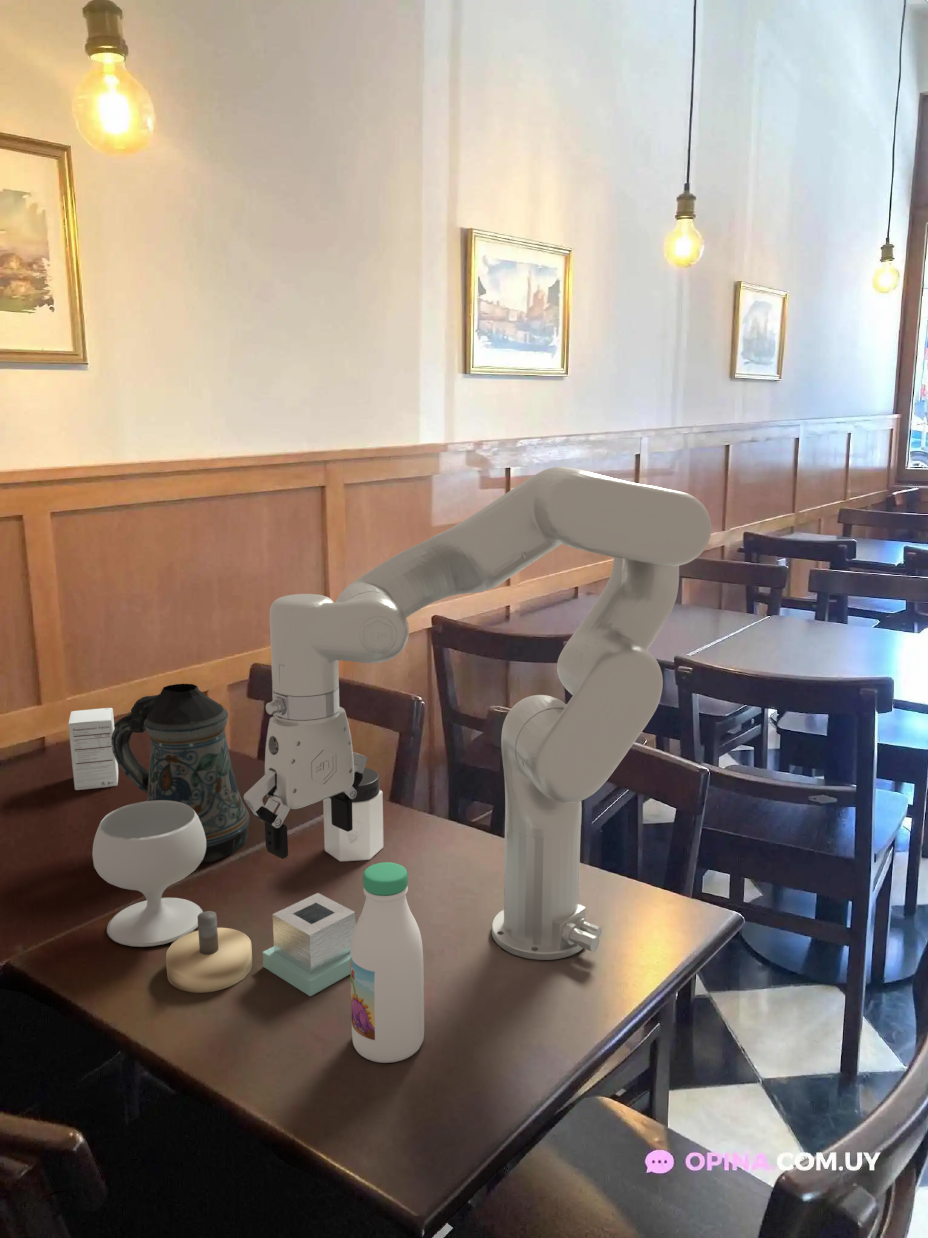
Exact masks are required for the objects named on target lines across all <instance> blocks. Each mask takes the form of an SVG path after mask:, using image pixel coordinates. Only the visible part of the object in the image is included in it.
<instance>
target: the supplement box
mask: <svg viewBox="0 0 928 1238" xmlns="http://www.w3.org/2000/svg"><path fill="white" fill-rule="evenodd" d="M114 717H115V716H114V709H113V708H112V707H105V708H104V707H102V708H92V709H83V710H82V709H80V710H74V711H73V710H72V711H70V715H69V719H68V733H69V745H70V755H71V757H70V758H71V766H72V775H73V784H74V785H73V787H74V790H75V791H80V790H82V791H83V790H91V789H100V788H109V787H117V786H118V783H119V764H118V763H117V761H116V759H115V756H114V754H113V750H112V745H111V738H112V734H113V731H114V729H115V727H114V725H115V719H114Z"/></svg>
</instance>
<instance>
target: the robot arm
mask: <svg viewBox="0 0 928 1238" xmlns="http://www.w3.org/2000/svg"><path fill="white" fill-rule="evenodd" d="M711 535H712V522H711V517H710V514H709V512H708V509H707V508H706V507H705V505H704V504H703V503H702V502H701V501H700V500H699V499H698V498H696V497H695V496H693V495H692V494H690V493H687V492H684V491H680V490H674V489H671V488H663V487H661V486H656V485H650V484H641V483H636V482H632V481H627V480H622V479H618V478H613V477H610V476H607V475H602V474H600V473H597V472H595V473H594V472H591V471H588V470H582V469H577V468H572V467H567V466H553V467H549V468H546V469H543V470H542V471H539V472H537V473H536V474H534V475H532V476H531V477H529V478H528V479H527V480H525V481H523V482H522V483H520V484H519V485H517V486H515V487H514V488H512V489H510V490H509V491H507V492H506V493H504V494H502V495H501V496H500V497H498V498H497V499H496V500H494V501H492V502H490V503H488V505H486V506H484V507H483V508H481V509H480V510H478V511H476V512H475V513H474V514H472V515H470V516H469V517H467V518H465V519H464V520H462V521H460V522H459V523H457V524H456V525H454V526H453V527H450V528H448V529H447V530H446V529H445V530H444V531H442V532H440V533H437V534H435V535H434V536H432V537H429V538H427V539H426V540H424V541H422V542H420V543H418V544H416V545H413V546H411V547H409V548H407V549H405V550H403V551H401V552H399V553H397V554H395V555H393V556H392V557H391V558H390V557H389V559H387V560H385V561H384V562H382V563H380V564H378V565H377V566H376V567H374V568H373V569H371V570H370V571H368V572H366V573H365V574H363V575H362V576H360V577H359V578H357V579H356V580H355V581H353V582H351V583H350V584H349V585H347V586H346V587H345V588H344V590H342V591H341V592H340V593H339V595H338V597H337V598H336V600H335V602H334V601H333V600H332V599H331V598H330V597H329V596H325V595H323V594H316V593H315V594H314V593H295V594H288V595H284V596H281V597H278V598H276V599H275V600H274V601H273V602H272V603H271V605H270V608H269V632H270V633H269V635H270V636H269V637H270V638H269V639H270V656H271V657H270V658H271V659H270V660H271V663H270V664H271V685H272V686H271V688H272V696H271V697H272V700H271V701H270V702H266V705H265V711H266V713H267V714H268V715H272V716H271V717H270V718H269V721H268V727H267V731H266V732H267V734H266V738H265V739H266V741H265V750H264V751H265V752H264V755H265V756H264V775H262V777H261V778H260V779H259V780H257V782H256V783H254V784H253V786H251V788H249V789H248V790H247V791H246V792H245V793H244V795H243V800H244V802H245V803H246V805H247V807H248V809H250V813H251V814H252V815H253V816H255V817H256V818H258V819H259V820H260V821H261V822H263V823H264V835H265V837H264V840H265V848H266V851H267V852H268V853H269V854H271V855H274V856H276V857H278V858H280V859H282V860H283V859H286V858H288V856H289V848H288V847H289V843H288V842H289V841H288V826H287V825H286V824H284V821H285V819H286V817H287V816H288V814H289V812H290V810H291V809H292V810H298V809H302V808H304V807H307V806H310V805H311V806H312V805H313V804H315V803H319V802H321V801H323V800H324V799H327V798H329V797H331V817H332V825H334V826H336V827H338V828H340V829H342V830H345V831H347V832H349V831H351V830H352V829H353V825H352V799H354V798H355V797H356V794H357V791H356V789H357V787H358V786H359V784H360V782H361V781H362V778H363V775H362V772H364V769H365V768H366V766H367V762H368V756H366V755H363V754H360V753H357V752H355V751H353V750H354V749H353V742H352V734H351V730H350V725H349V719H348V716H347V713H346V710H345V708H343V707H341V706H340V681H339V677H340V674H339V661H343V662H352V663H353V662H354V663H360V664H361V663H362V664H379V663H380V664H381V663H384V662H388V661H391V660H392V659H394V658H396V657H397V656H399V654H401V652H403V650H404V649H405V647H406V646H407V644H408V642H409V641H408V640H409V637H410V627H409V622H408V619H407V618H408V617H410V616H411V615H413V614H415V613H416V612H418V611H420V610H421V609H423V608H425V607H427V606H429V605H431V604H432V603H435V602H438V601H440V600H442V599H445V598H448V597H452V596H456V595H465V594H477V593H481V592H484V591H488V590H491V589H494V588H496V587H498V586H500V585H502V584H503V583H505V582H506V581H507V580H509V579H511V577H513V576H515V575H517V574H518V573H520V572H521V571H523V570H524V569H525V568H528V566H530V565H532V564H533V563H535V562H536V561H538V560H539V559H541V558H542V557H544V556H545V555H547V554H549V553H550V552H552V551H554V550H555V549H557V548H558V547H559V546H561V545H565V546H567V547H569V548H573V549H576V550H580V551H584V552H588V553H593V554H597V555H601V556H605V557H606V556H607V557H611V558H613V562H612V563H613V564H612V569H611V573H610V577H609V579H608V580H607V583H606V585H605V587H604V588H603V589H602V591H601V593H600V595H599V596H598V597H597V600H596V601H595V603H594V604H593V605H592V607H591V608H590V609H589V611H588V613H587V614H586V615H585V617H584V618H583V620H582V621H581V623H580V624H579V625H578V626H577V628H576V629H575V631H574V633H572V635H571V636H570V638H568V641H567V643H566V644H565V645H564V646H563V648H562V650H561V651H560V654H559V656H558V659H557V663H556V664H557V665H556V671H557V672H556V673H557V676H558V679H559V681H560V683H561V684H562V686H563V687H564V688H565V689H566V691H568V693H569V694H571V695H572V697H570V700H569V701H568V702H567V703H565V702H564V701H562V700H560V699H559V698H556V697H554V696H550V695H546V694H535V695H530V696H527V697H524V698H522V699H521V700H519V701H518V702H515V703H516V704H514V705H513V706H512V707H511V708H510V710H509V711H508V712H507V715H506V716H505V719H504V721H503V724H502V730H501V738H500V739H501V741H500V743H501V756H502V757H501V758H502V767H503V776H504V777H503V778H504V794H505V795H504V798H505V800H504V801H505V802H504V803H505V807H504V810H505V812H504V814H505V816H504V818H505V819H504V864H503V865H504V867H503V869H504V870H503V871H504V873H503V874H504V875H503V876H504V877H503V878H504V880H503V883H504V885H503V909H502V910H500V911H499V912H498V913H497V914H496V915H495V916H494V918H493V920H492V923H491V935H492V938H493V940H494V941H495V942H496V944H497V945H498V946H499V947H500V948H502V949H503V950H505V951H506V952H508V953H510V954H512V955H515V956H516V957H517V956H518V957H521V958H524V959H531V960H535V961H536V960H538V961H539V960H540V961H551V960H560V959H563V958H564V959H565V958H568V957H570V956H573V955H575V954H577V953H580V951H582V950H583V949H586V950H587V951H589V952H592V953H594V952H596V951H597V950H598V948H599V945H600V937H601V935H602V927H600V926H599V925H596V924H593V923H590V922H588V921H587V919H586V911H587V910H586V906H584V905H582V904H579V901H580V899H579V896H580V867H581V866H580V864H581V863H580V862H581V836H582V835H581V832H582V831H581V830H582V827H581V826H582V802H583V800H586V799H587V798H589V797H591V796H593V795H594V794H595V793H596V792H597V791H599V790H600V789H601V788H602V786H604V784H605V783H606V782H607V781H608V779H609V778H610V777H611V776H612V774H613V773H614V771H615V770H616V769H617V768H618V766H619V765H620V764H621V762H622V760H623V759H624V758H625V756H626V755H627V754H628V752H629V751H630V750H631V748H632V746H633V745H634V743H635V742H636V741H637V740H638V738H639V736H640V735H641V733H642V732H643V730H645V728H646V727H647V725H648V723H649V722H650V720H651V719H652V717H653V716H654V714H655V713H656V711H657V708H658V706H659V703H660V700H661V696H662V693H663V685H664V684H663V683H664V680H663V673H662V670H661V666H660V664H659V663H658V661H657V659H656V657H654V655H653V654H652V653H651V652H650V651H649V649H651V647H652V645H653V643H654V642H655V640H656V638H657V637H658V635H659V634H660V632H661V630H662V629H663V627H664V625H665V624H666V622H667V620H668V619H669V617H670V615H671V614H672V611H673V609H674V607H675V605H676V604H675V603H676V601H677V598H678V597H677V596H678V593H679V584H680V566H682V565H683V566H684V565H686V564H688V563H690V562H692V561H694V560H695V559H697V558H698V557H700V556H701V554H702V553H704V551H705V550H706V548H707V546H708V545H709V542H710V539H711ZM265 796H266V798H267V801H266V803H265V804H264V801H263V799H264V797H265ZM279 804H280V805H279ZM278 805H279V806H278ZM277 807H278V808H277ZM275 810H276V811H275ZM274 812H275V813H274Z"/></svg>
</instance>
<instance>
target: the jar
mask: <svg viewBox="0 0 928 1238" xmlns="http://www.w3.org/2000/svg"><path fill="white" fill-rule="evenodd" d="M379 774H380V773H378V772H377V771H376V770H375V769H372V768H368V767H365V769H364V772H362V775H363V778H362V781H361V782H360V784H359V786H358V787H357V789H356V791H357V794H356V797H355V798H354V799H352V825H353V829H352V830H351V831H349V832H347V831H345V830H342V829H340V828H338V827H336V826H334V825H332V817H331V797H329V798H327V799H324V800H322V802H323V803H322V804H323V805H322V806H323V830H324V831H323V834H324V835H323V837H324V843H323V844H324V851H325V852H326V853H327V854H329V855H330V856H331V857H333V858H334V859H335V860H337V861H338V862H352V861H353V862H357V861H370V860H371V859H372V858H373V857H374V856H376V855H377V854H378V853H379V852H380V851H381V850H382V849H383V848H384V804H383V802H384V800H383V795H384V793H383V791H382V790H381V789H380V788H381V786H380V775H379Z"/></svg>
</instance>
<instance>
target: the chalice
mask: <svg viewBox="0 0 928 1238" xmlns="http://www.w3.org/2000/svg"><path fill="white" fill-rule="evenodd" d="M96 829H97V830H96V833H95V835H94V838H93V842H92V854H91V855H92V861H93V868H94V869H95V870H96V872H97V874H98V876H100V877H101V878H102V879H103V880H104V881H106V883H108V884H110V885H113V886H114V887H118V888H121V889H125V890H129V891H138V892H140V893H142V895H143V896H144V897H145V899H146V900H143V901H142V900H141V901H140V902H136V903H134V904H131V905H129V906H127V907H125V908H122V909H121V910H120V911H118V912H117V913H116V914H115V915H114V916H113V917H112V918H111V919H110V920H109V922H108V924H107V926H106V934H107V936H108V937H109V938H110V939H111V940H112V941H114V942H115V943H118V944H120V945H123V946H129V947H137V948H145V947H155V946H160V945H161V946H162V945H165V944H169V943H174V942H175V941H176V940H177V939H179V938H181V937H182V936H184V935H186V934H189V933H191V932H194V931H196V930H197V929H198V915H199V914H200V913H202V912H204V910H203V909H202V907H200V906H199V905H198V904H197V903H195V902H193V901H191V900H188V899H184V898H180V897H162V896H163V894H164V892H165V890H166V889H167V888H168V887H170V886H171V885H174V884H176V883H178V882H179V881H182V880H184V879H185V878H186V877H188V876H189V875H191V873H192V874H193V872H194V871H196V870H197V868H198V867H199V866H200V864H202V863H201V862H202V860H203V858H204V855H205V852H206V837H205V833H204V829H203V826H202V824H201V822H200V819H199V817H198V815H197V814H196V812H195V811H194V810H193V809H192V808H191V807H190V806H188V805H186V804H184V803H181V802H176V801H168V800H155V801H147V800H146V801H140V802H135V803H131V804H127V805H124V806H121V807H118V808H117V809H115V810H112V811H111V812H108V813H107V814H106V815H105V816H104V817H103V818H102V820H101V821H100V822H99V825H98V827H97V828H96Z"/></svg>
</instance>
